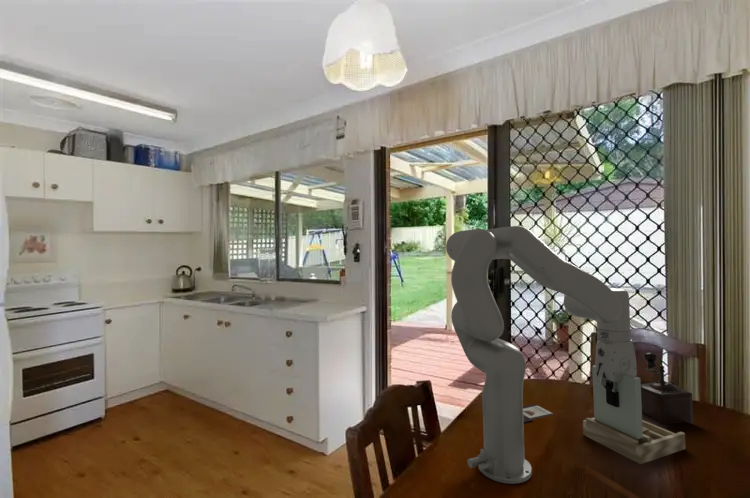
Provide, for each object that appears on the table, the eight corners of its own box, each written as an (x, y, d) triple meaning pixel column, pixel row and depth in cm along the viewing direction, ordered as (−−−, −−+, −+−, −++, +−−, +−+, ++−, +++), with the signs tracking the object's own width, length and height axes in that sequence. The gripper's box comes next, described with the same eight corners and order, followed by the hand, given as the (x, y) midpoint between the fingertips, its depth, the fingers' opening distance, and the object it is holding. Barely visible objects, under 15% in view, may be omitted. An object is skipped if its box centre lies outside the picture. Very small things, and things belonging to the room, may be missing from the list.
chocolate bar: (490, 413, 123) (535, 404, 129) (490, 416, 123) (535, 406, 129) (509, 425, 115) (555, 414, 121) (509, 428, 115) (555, 417, 121)
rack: (640, 468, 92) (639, 443, 92) (583, 438, 107) (582, 416, 107) (685, 452, 98) (684, 429, 98) (625, 426, 113) (624, 406, 113)
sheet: (637, 439, 94) (634, 379, 94) (594, 419, 106) (592, 366, 106) (642, 437, 95) (640, 378, 95) (599, 418, 106) (597, 364, 106)
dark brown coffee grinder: (697, 424, 113) (695, 364, 113) (663, 428, 111) (661, 367, 111) (652, 403, 128) (650, 350, 128) (622, 406, 127) (621, 352, 126)
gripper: (605, 342, 94) (608, 416, 94) (648, 334, 100) (651, 404, 100) (579, 336, 101) (582, 404, 101) (621, 329, 107) (623, 394, 107)
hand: (616, 403), depth 100 cm, fingers closed on sheet, 2 cm apart
